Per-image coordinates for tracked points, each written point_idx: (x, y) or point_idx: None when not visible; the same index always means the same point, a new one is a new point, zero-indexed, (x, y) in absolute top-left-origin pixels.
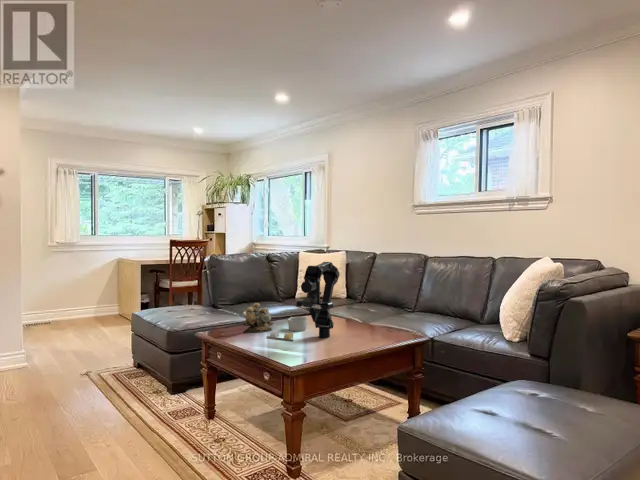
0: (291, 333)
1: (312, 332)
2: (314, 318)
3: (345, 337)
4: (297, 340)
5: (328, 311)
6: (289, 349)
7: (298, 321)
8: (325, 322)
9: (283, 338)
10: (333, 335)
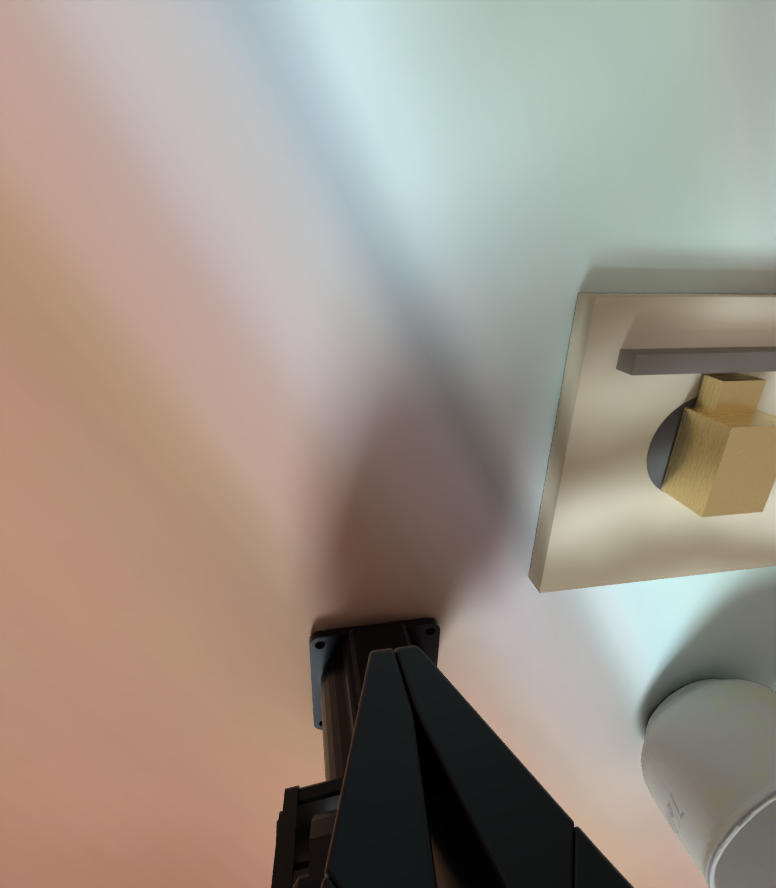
0: (720, 505)
1: (573, 763)
2: (377, 731)
3: (233, 802)
4: None
5: None
6: (540, 52)
7: (766, 793)
8: (327, 856)
9: (758, 360)
10: None
